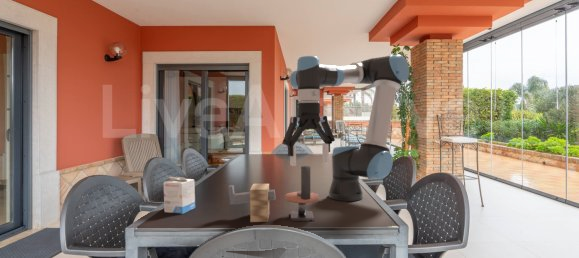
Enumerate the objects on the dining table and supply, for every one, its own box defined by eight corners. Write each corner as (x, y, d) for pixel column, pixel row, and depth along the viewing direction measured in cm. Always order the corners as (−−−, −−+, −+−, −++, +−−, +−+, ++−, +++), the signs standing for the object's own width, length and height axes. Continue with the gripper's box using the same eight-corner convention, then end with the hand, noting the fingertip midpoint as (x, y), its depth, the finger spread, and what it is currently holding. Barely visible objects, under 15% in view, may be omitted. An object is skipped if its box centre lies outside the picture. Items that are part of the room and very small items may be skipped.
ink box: (195, 208, 129) (195, 174, 128) (182, 214, 121) (181, 178, 120) (177, 206, 132) (177, 173, 131) (163, 212, 124) (162, 177, 123)
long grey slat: (275, 197, 118) (273, 180, 118) (275, 200, 115) (273, 182, 114) (231, 202, 118) (229, 185, 118) (230, 204, 115) (228, 186, 114)
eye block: (269, 213, 122) (269, 183, 121) (267, 221, 112) (267, 189, 111) (253, 213, 121) (253, 183, 121) (250, 222, 111) (250, 189, 111)
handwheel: (281, 195, 121) (281, 163, 120) (312, 193, 124) (312, 162, 123) (290, 204, 109) (290, 168, 109) (323, 201, 112) (323, 166, 112)
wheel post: (312, 213, 121) (312, 196, 120) (314, 220, 113) (314, 202, 112) (290, 213, 121) (290, 196, 120) (291, 220, 113) (290, 202, 112)
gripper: (282, 101, 102) (284, 169, 103) (344, 101, 114) (344, 161, 115) (271, 102, 108) (273, 165, 109) (331, 102, 121) (331, 159, 122)
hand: (309, 163), depth 112 cm, fingers open, 13 cm apart
